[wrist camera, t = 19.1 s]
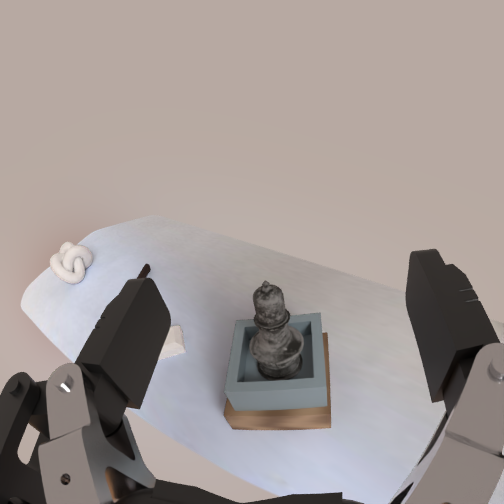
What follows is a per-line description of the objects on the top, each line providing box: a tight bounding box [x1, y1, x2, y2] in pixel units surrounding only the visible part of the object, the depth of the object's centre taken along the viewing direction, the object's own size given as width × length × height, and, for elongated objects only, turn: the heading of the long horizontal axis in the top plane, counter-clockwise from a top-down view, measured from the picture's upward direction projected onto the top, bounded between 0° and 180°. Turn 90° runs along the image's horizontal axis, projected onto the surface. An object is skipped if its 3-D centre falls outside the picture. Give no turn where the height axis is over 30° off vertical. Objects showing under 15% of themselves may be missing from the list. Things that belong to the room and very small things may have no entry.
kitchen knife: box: [137, 264, 151, 279], centre depth 62 cm, size 18×1×2 cm, turn 173°
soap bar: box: [158, 325, 186, 360], centre depth 48 cm, size 5×9×3 cm, turn 106°
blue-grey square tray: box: [224, 313, 327, 411], centre depth 35 cm, size 10×10×4 cm
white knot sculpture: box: [50, 242, 92, 284], centre depth 72 cm, size 11×12×9 cm
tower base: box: [224, 333, 331, 430], centre depth 37 cm, size 12×12×4 cm
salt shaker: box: [249, 281, 304, 381], centre depth 32 cm, size 6×6×12 cm
